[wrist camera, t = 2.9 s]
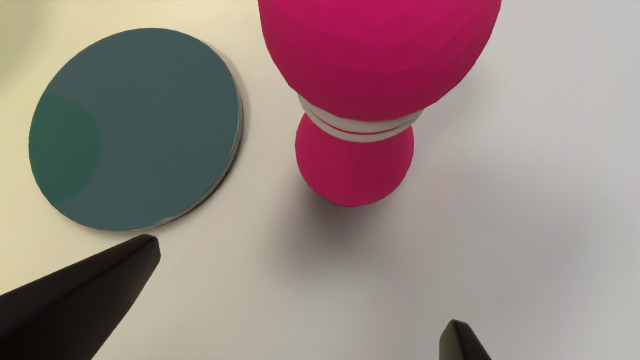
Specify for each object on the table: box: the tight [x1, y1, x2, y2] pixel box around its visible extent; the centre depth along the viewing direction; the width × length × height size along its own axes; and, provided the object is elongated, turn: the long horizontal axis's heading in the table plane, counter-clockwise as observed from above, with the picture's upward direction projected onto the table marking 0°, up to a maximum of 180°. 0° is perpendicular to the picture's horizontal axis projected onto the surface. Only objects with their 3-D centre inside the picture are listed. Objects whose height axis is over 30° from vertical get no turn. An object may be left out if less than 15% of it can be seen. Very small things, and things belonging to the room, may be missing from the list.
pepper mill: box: [258, 0, 502, 207], centre depth 14 cm, size 7×7×20 cm
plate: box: [28, 28, 243, 232], centre depth 25 cm, size 17×17×1 cm
